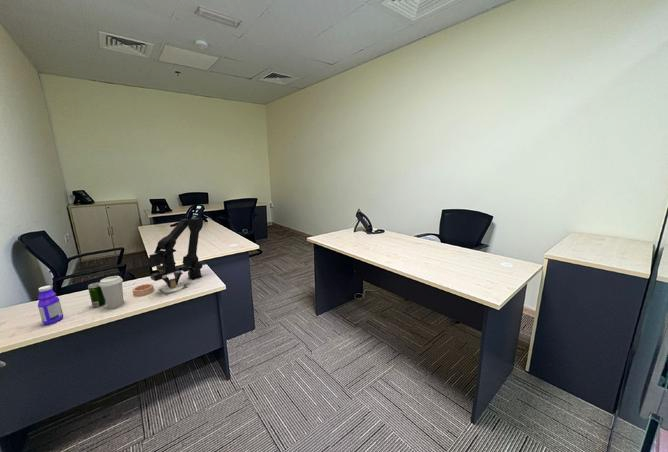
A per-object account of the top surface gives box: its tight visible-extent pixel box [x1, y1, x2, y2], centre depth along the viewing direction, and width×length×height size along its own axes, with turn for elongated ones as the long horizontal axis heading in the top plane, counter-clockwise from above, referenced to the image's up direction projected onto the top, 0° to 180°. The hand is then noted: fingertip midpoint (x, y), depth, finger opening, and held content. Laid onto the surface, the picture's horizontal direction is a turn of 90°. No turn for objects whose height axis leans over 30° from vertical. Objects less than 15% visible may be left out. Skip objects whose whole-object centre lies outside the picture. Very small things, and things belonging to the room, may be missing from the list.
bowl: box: [132, 283, 155, 297], centre depth 151 cm, size 10×10×4 cm
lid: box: [161, 277, 185, 294], centre depth 155 cm, size 11×11×6 cm
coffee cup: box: [99, 275, 125, 310], centre depth 136 cm, size 10×10×15 cm
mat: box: [158, 284, 189, 296], centre depth 155 cm, size 12×12×1 cm
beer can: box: [87, 281, 107, 309], centre depth 137 cm, size 5×5×12 cm
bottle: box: [37, 285, 64, 325], centre depth 123 cm, size 7×6×17 cm
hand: (172, 286), depth 155 cm, fingers closed on lid, 4 cm apart
